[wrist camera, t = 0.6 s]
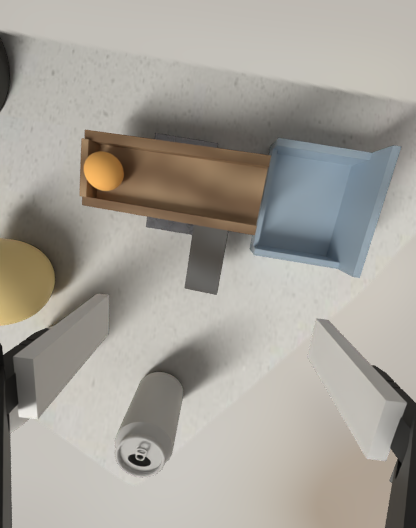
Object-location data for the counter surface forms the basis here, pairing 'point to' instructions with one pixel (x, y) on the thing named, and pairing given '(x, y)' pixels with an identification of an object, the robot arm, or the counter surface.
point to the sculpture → (23, 281)
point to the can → (149, 426)
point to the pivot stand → (169, 224)
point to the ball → (103, 171)
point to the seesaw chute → (183, 192)
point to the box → (322, 204)
